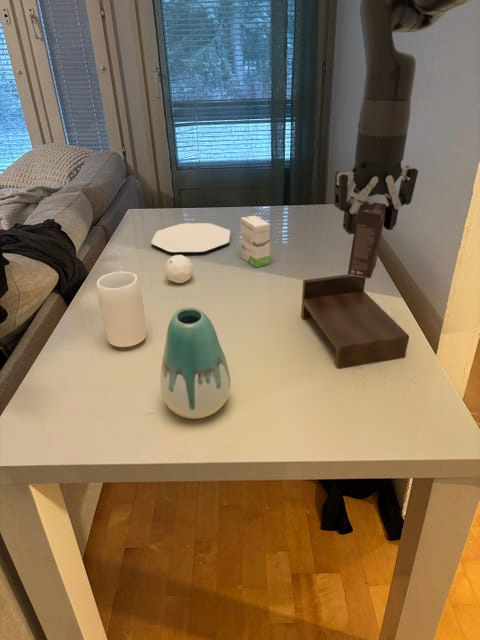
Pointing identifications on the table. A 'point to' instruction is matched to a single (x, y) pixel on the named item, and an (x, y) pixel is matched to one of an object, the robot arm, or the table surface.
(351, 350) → the rack
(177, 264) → the ornament
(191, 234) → the plate
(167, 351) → the vase
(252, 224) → the ink box
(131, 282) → the cup
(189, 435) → the table surface
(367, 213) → the box
